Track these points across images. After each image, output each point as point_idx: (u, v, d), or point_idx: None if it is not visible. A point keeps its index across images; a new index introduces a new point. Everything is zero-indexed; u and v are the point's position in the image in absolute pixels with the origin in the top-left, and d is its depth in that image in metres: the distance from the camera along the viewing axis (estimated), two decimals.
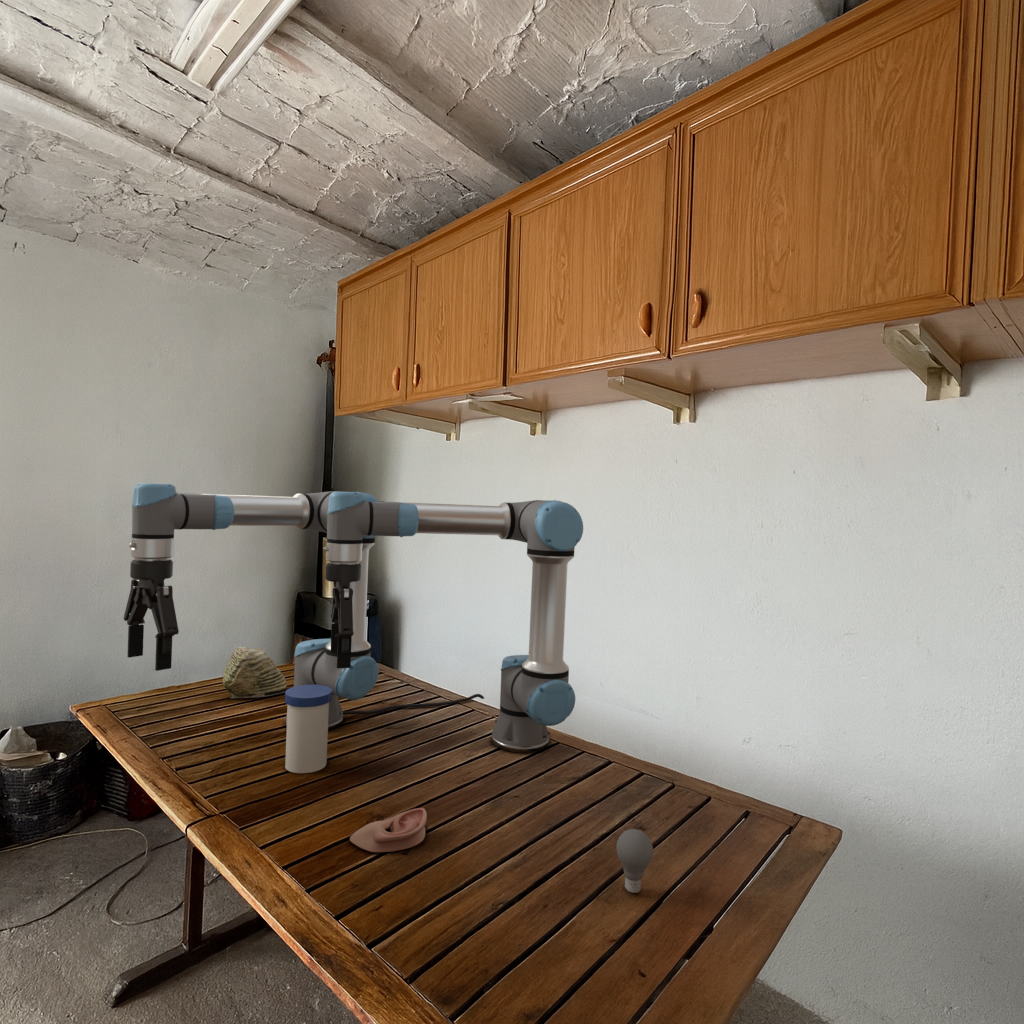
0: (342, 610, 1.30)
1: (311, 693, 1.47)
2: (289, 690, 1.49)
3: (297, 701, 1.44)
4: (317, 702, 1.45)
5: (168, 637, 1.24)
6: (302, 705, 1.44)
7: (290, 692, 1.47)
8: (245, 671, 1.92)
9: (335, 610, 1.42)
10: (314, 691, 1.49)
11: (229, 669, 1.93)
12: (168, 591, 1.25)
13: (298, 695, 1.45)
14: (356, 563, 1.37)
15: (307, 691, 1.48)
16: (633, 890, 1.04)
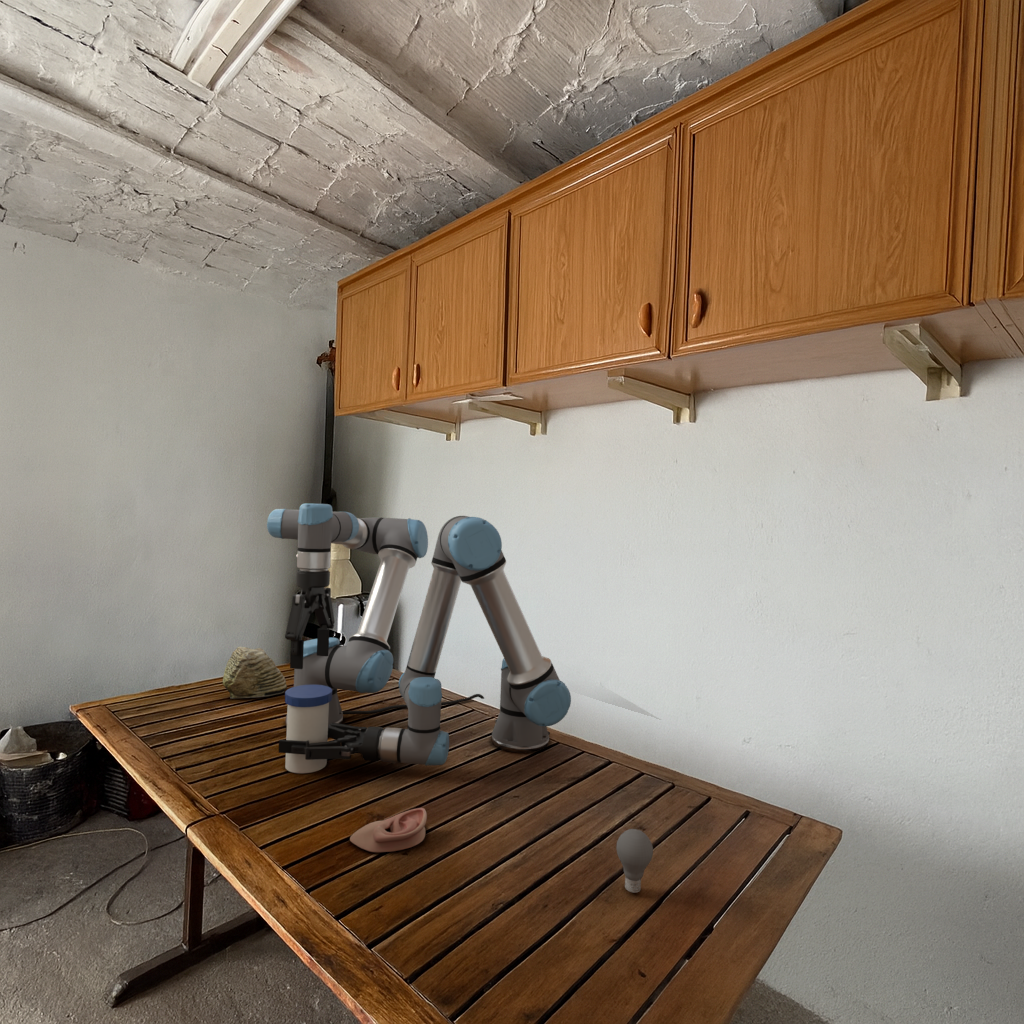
0: None
1: (311, 693, 1.47)
2: (289, 690, 1.49)
3: (297, 701, 1.44)
4: (317, 702, 1.45)
5: (293, 640, 1.41)
6: (302, 705, 1.44)
7: (290, 692, 1.47)
8: (245, 671, 1.92)
9: None
10: (314, 691, 1.49)
11: (229, 669, 1.93)
12: (299, 600, 1.42)
13: (298, 695, 1.45)
14: None
15: (307, 691, 1.48)
16: (633, 890, 1.04)
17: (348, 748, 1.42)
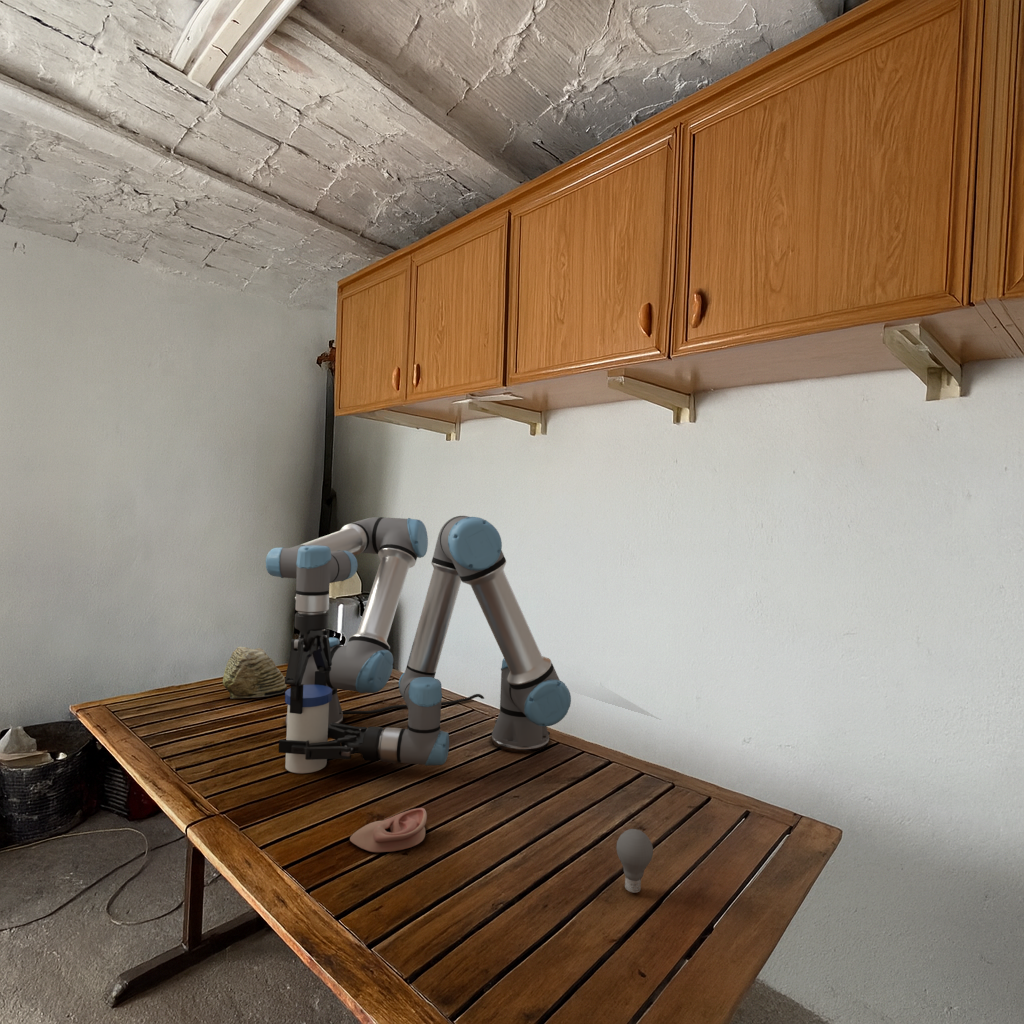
0: None
1: (311, 693, 1.47)
2: (289, 690, 1.49)
3: None
4: (317, 702, 1.45)
5: (293, 686, 1.42)
6: None
7: None
8: (245, 671, 1.92)
9: None
10: (314, 691, 1.49)
11: (229, 669, 1.93)
12: (297, 645, 1.42)
13: None
14: None
15: (307, 691, 1.48)
16: (633, 890, 1.04)
17: (348, 748, 1.42)
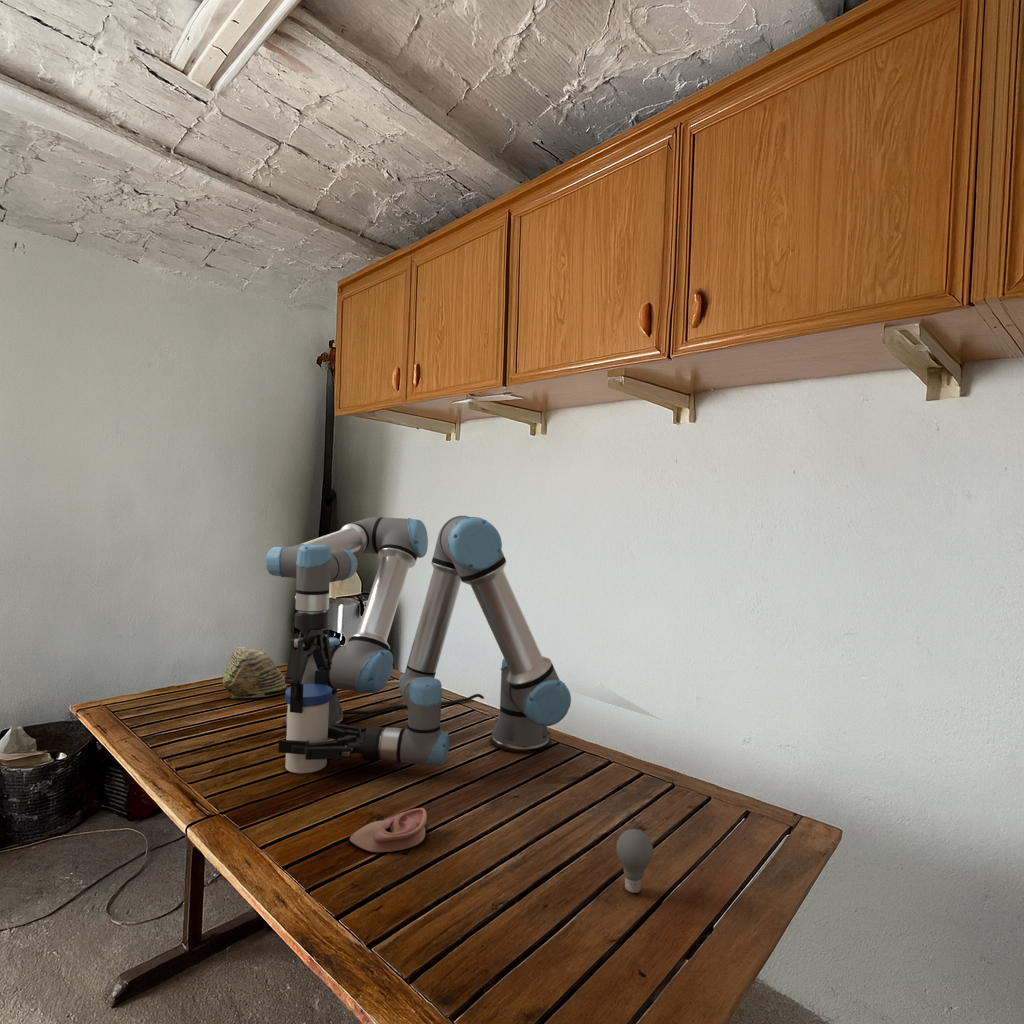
0: None
1: (318, 690, 1.49)
2: None
3: (324, 698, 1.46)
4: None
5: (293, 685, 1.42)
6: (327, 700, 1.47)
7: (303, 695, 1.45)
8: (245, 671, 1.92)
9: None
10: (313, 688, 1.50)
11: (229, 669, 1.93)
12: (297, 644, 1.42)
13: (317, 693, 1.46)
14: None
15: (309, 690, 1.48)
16: (633, 890, 1.04)
17: (348, 748, 1.42)
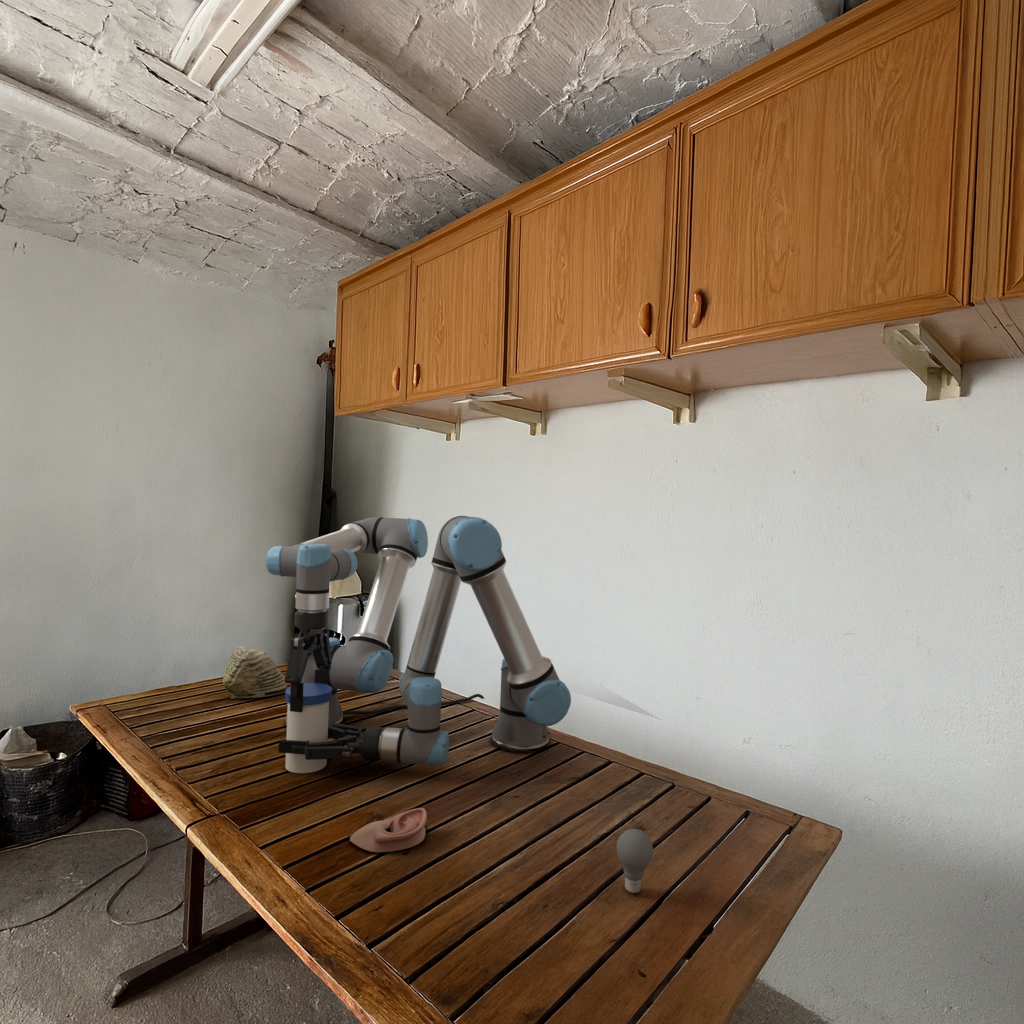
0: None
1: (312, 686, 1.51)
2: (320, 693, 1.46)
3: None
4: None
5: (293, 684, 1.42)
6: None
7: (323, 691, 1.47)
8: (245, 671, 1.92)
9: None
10: (306, 687, 1.50)
11: (229, 669, 1.93)
12: (297, 643, 1.42)
13: (325, 687, 1.50)
14: None
15: (310, 689, 1.49)
16: (633, 890, 1.04)
17: (348, 748, 1.42)
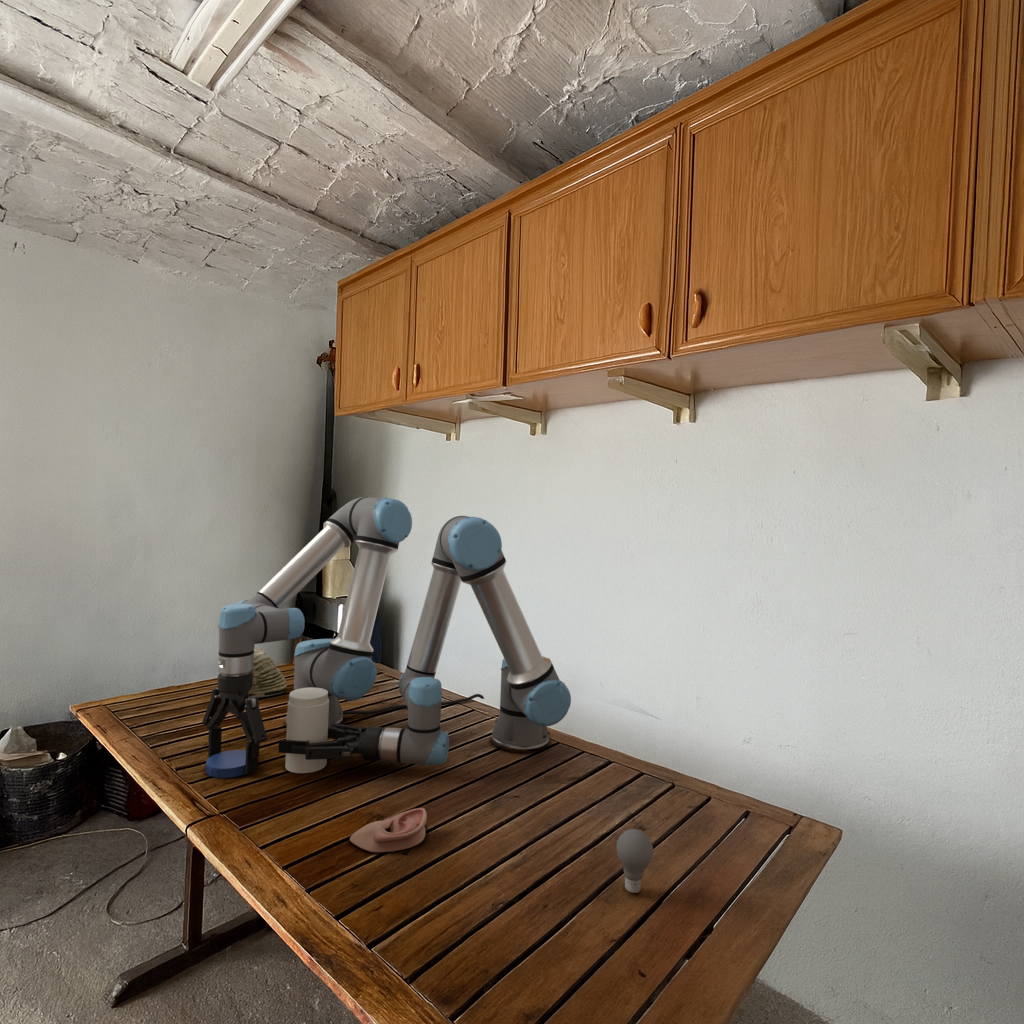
0: None
1: (225, 756, 1.47)
2: None
3: None
4: None
5: (257, 744, 1.41)
6: None
7: None
8: None
9: None
10: (224, 759, 1.45)
11: None
12: (255, 703, 1.42)
13: (236, 752, 1.49)
14: None
15: (232, 758, 1.46)
16: (633, 890, 1.04)
17: (348, 748, 1.42)
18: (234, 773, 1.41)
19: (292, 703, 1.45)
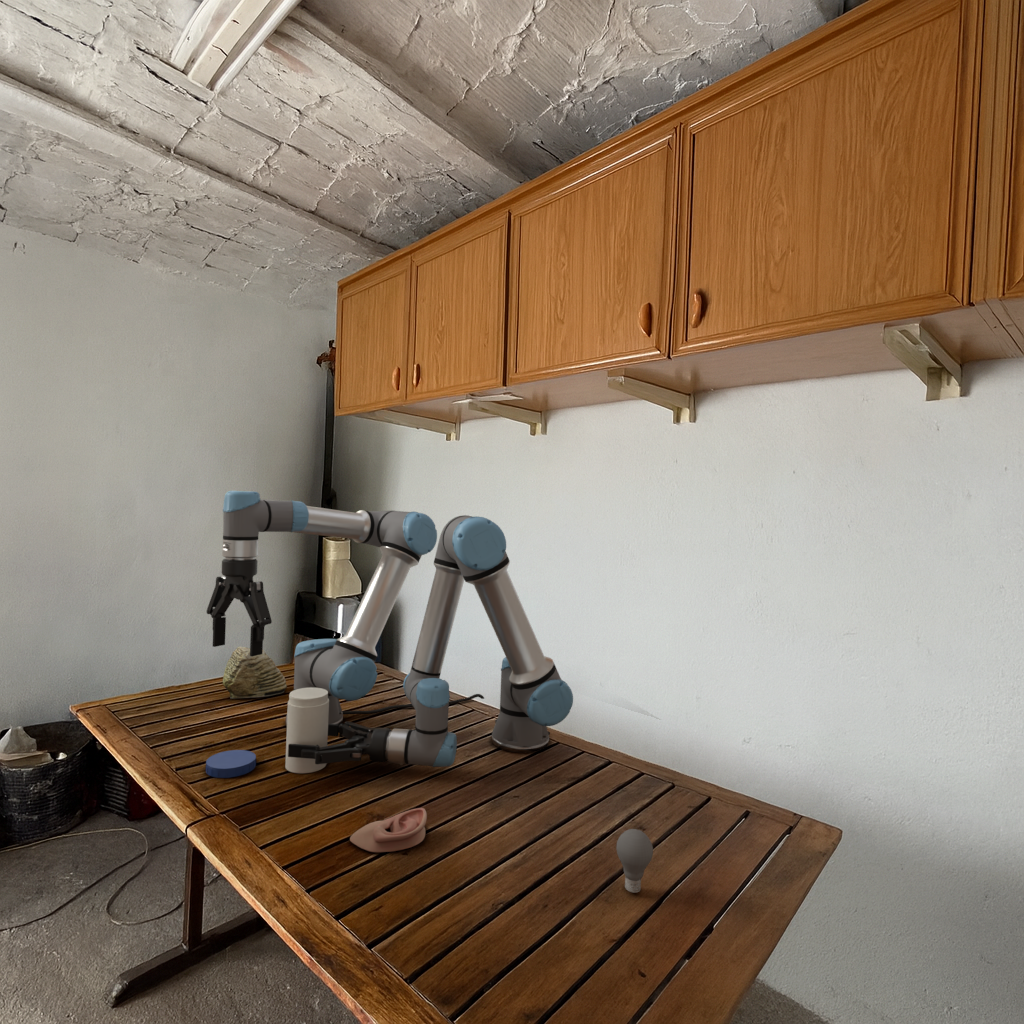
0: None
1: (225, 756, 1.47)
2: (252, 755, 1.48)
3: None
4: None
5: (262, 626, 1.41)
6: None
7: (248, 754, 1.49)
8: (245, 671, 1.92)
9: None
10: (224, 759, 1.45)
11: (229, 669, 1.93)
12: (260, 586, 1.42)
13: (236, 752, 1.49)
14: None
15: (232, 758, 1.46)
16: (633, 890, 1.04)
17: (359, 749, 1.41)
18: (234, 773, 1.41)
19: (292, 703, 1.45)
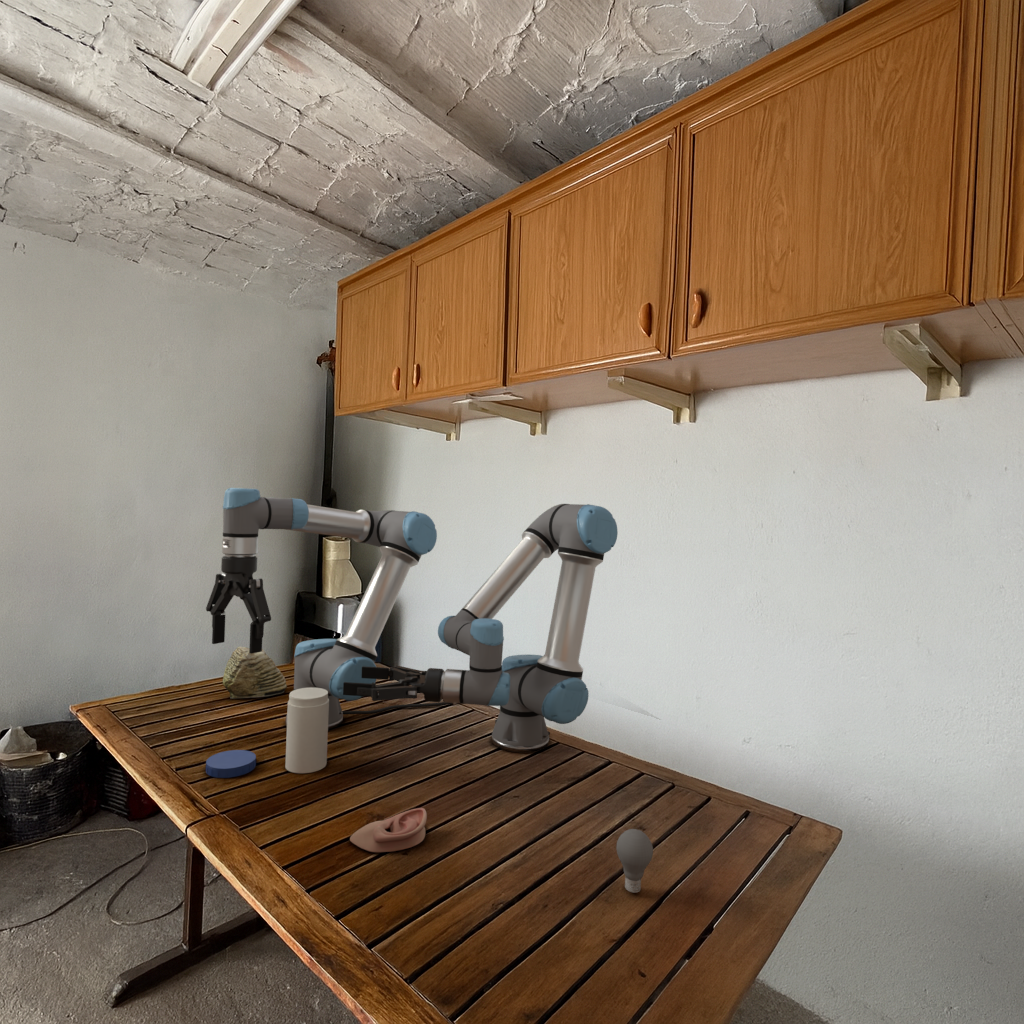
0: None
1: (225, 756, 1.47)
2: (252, 755, 1.48)
3: None
4: None
5: (261, 624, 1.41)
6: None
7: (248, 754, 1.49)
8: (245, 671, 1.92)
9: None
10: (224, 759, 1.45)
11: (229, 669, 1.93)
12: (260, 583, 1.42)
13: (236, 752, 1.49)
14: None
15: (232, 758, 1.46)
16: (633, 890, 1.04)
17: (415, 687, 1.41)
18: (234, 773, 1.41)
19: (292, 703, 1.45)
